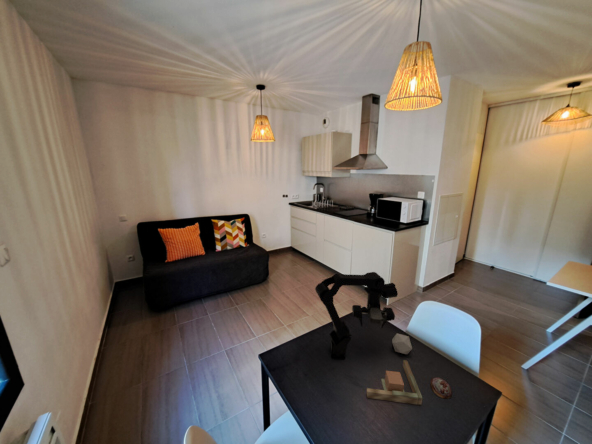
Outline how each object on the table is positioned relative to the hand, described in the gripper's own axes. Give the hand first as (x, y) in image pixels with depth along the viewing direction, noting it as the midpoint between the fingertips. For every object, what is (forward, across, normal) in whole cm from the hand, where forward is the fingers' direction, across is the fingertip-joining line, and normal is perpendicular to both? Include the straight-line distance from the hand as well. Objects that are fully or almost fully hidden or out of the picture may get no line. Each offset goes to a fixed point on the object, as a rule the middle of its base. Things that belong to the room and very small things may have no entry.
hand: (371, 327), depth 108 cm
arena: (+12, +5, -17) cm, 21 cm away
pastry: (+12, +25, -18) cm, 33 cm away
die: (+12, +15, 0) cm, 19 cm away
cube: (+12, +6, -20) cm, 24 cm away
